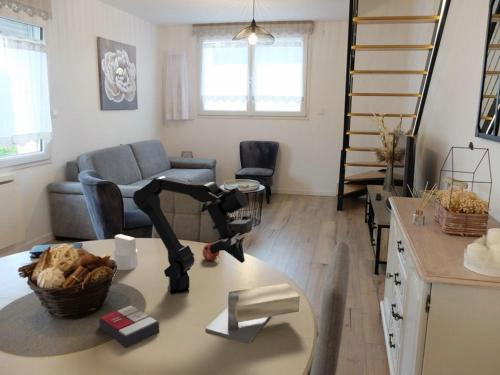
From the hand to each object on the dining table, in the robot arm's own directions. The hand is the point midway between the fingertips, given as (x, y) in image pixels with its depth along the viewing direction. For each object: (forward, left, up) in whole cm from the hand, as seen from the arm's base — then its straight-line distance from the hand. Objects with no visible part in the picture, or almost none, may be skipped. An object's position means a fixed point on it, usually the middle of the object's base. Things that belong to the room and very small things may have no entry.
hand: (243, 262), depth 132 cm
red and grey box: (-36, -3, -16) cm, 40 cm away
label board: (-1, -7, -15) cm, 16 cm away
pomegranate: (0, +40, -15) cm, 43 cm away
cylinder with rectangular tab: (-34, +44, -15) cm, 58 cm away
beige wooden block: (+1, -13, -14) cm, 19 cm away
